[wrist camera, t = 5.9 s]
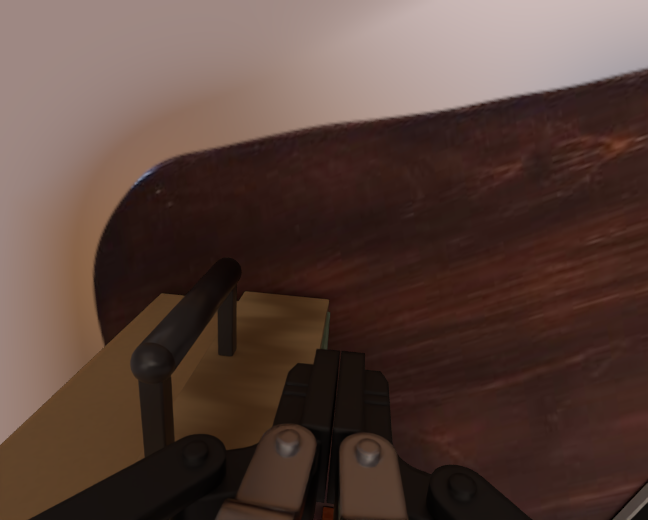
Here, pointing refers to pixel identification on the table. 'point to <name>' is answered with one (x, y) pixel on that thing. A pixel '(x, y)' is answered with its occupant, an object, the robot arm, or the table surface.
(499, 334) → the table surface
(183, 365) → the box
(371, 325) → the table surface
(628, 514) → the smartphone
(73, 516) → the robot arm
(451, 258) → the table surface
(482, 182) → the table surface
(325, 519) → the block
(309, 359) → the door
